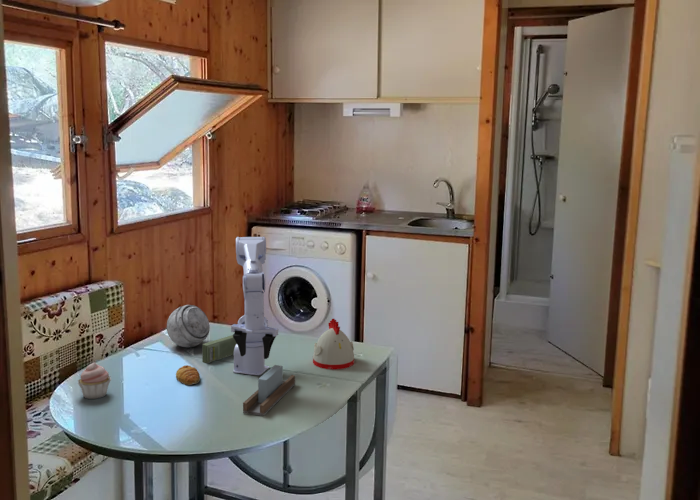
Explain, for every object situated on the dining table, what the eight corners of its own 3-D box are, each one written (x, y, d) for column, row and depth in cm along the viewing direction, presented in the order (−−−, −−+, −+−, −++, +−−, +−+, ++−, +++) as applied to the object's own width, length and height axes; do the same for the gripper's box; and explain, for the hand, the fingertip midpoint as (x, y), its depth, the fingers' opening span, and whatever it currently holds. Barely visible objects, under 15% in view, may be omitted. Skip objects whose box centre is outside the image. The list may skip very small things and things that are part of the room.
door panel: (258, 402, 193) (258, 379, 191) (274, 387, 204) (274, 364, 203) (266, 403, 192) (266, 380, 191) (282, 388, 203) (282, 365, 202)
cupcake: (109, 400, 194) (107, 367, 192) (75, 402, 193) (72, 368, 191) (115, 388, 203) (113, 356, 202) (82, 389, 202) (80, 357, 200)
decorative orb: (191, 355, 233) (190, 313, 230) (158, 349, 239) (156, 307, 236) (217, 343, 246) (216, 303, 243) (185, 337, 252) (184, 298, 249)
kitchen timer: (321, 371, 220) (321, 327, 217) (307, 358, 232) (307, 315, 229) (360, 366, 225) (361, 322, 222) (344, 353, 238) (345, 312, 235)
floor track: (243, 413, 187) (243, 402, 187) (276, 382, 210) (276, 373, 209) (263, 416, 186) (263, 405, 185) (295, 384, 208) (295, 375, 208)
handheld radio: (200, 362, 227) (255, 344, 246) (207, 364, 225) (262, 346, 244) (200, 343, 226) (255, 326, 245) (207, 345, 224) (262, 328, 243)
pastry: (205, 383, 208) (204, 372, 208) (183, 388, 205) (183, 376, 204) (194, 374, 216) (194, 362, 215) (173, 378, 213) (173, 366, 212)
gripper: (226, 314, 201) (226, 358, 203) (271, 318, 197) (271, 363, 199) (236, 308, 207) (237, 350, 210) (280, 312, 203) (281, 355, 206)
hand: (254, 356), depth 205 cm, fingers open, 7 cm apart
